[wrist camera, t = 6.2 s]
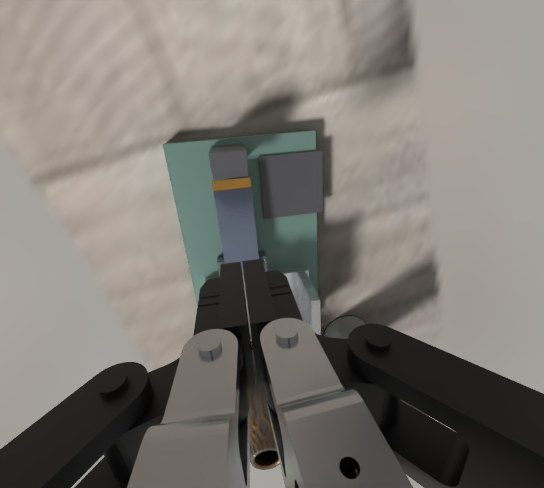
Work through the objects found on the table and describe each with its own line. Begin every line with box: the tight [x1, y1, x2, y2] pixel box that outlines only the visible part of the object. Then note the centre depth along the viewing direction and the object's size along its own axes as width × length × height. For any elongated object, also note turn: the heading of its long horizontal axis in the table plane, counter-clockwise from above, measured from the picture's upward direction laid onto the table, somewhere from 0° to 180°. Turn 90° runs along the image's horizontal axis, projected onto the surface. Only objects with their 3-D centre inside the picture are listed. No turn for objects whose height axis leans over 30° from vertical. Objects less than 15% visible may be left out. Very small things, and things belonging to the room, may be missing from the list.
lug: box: [208, 144, 248, 180], centre depth 18 cm, size 2×2×4 cm
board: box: [163, 130, 323, 306], centre depth 23 cm, size 16×10×1 cm, turn 4°
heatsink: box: [205, 251, 321, 341], centre depth 22 cm, size 8×8×5 cm
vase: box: [249, 350, 280, 470], centre depth 25 cm, size 7×7×9 cm
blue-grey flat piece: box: [212, 176, 266, 281], centre depth 20 cm, size 7×3×1 cm, turn 4°
